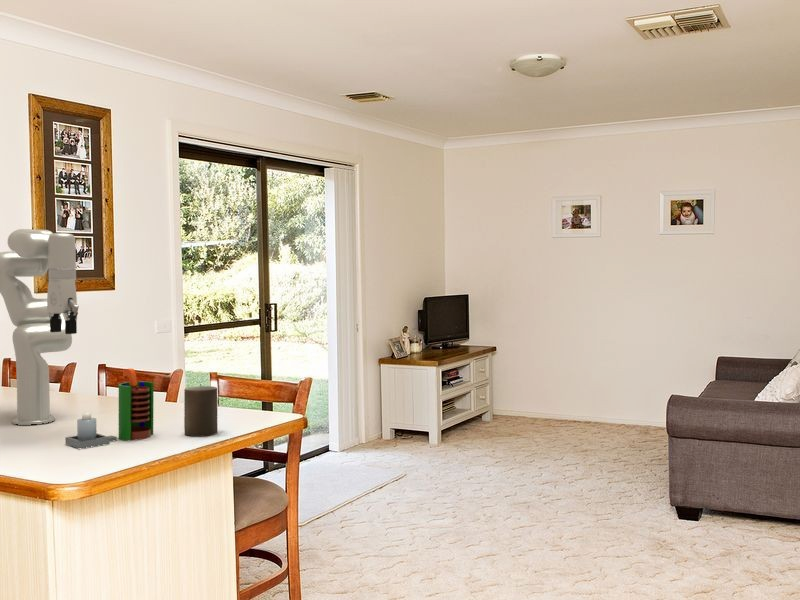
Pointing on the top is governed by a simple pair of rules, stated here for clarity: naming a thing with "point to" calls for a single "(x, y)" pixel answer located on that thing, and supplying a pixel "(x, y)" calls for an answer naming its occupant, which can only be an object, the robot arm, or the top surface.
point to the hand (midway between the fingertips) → (63, 332)
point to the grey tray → (89, 441)
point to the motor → (135, 408)
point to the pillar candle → (200, 411)
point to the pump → (86, 427)
